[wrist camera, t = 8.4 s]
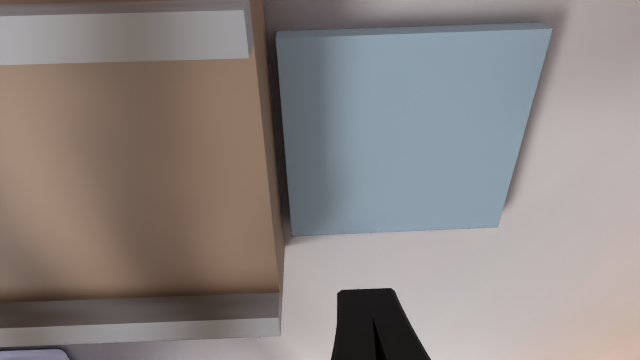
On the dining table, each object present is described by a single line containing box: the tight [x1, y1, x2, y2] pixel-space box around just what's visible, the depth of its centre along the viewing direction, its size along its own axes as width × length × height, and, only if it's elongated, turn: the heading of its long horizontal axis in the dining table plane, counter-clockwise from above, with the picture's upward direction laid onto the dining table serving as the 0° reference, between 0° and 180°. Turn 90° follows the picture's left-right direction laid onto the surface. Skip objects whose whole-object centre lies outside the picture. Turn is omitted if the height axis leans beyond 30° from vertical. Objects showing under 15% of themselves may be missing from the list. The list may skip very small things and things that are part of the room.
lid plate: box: [276, 22, 553, 236], centre depth 19 cm, size 10×9×2 cm
